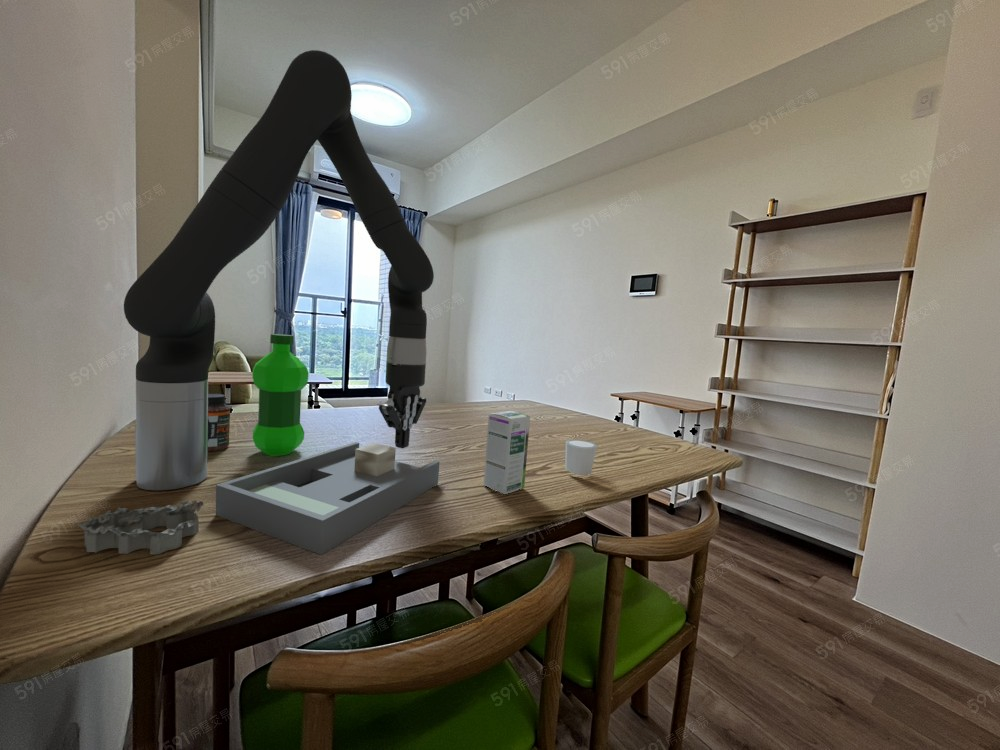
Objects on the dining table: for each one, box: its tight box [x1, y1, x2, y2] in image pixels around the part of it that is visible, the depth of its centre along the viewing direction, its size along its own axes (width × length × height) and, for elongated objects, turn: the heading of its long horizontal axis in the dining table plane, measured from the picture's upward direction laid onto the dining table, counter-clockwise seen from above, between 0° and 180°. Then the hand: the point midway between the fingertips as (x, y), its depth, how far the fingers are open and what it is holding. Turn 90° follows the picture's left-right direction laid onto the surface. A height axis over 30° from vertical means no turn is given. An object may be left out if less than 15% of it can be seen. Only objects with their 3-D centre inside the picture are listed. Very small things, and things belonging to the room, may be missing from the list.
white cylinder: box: [564, 439, 598, 475], centre depth 89 cm, size 7×7×7 cm
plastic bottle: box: [251, 333, 309, 457], centre depth 85 cm, size 10×10×25 cm
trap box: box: [215, 441, 440, 556], centre depth 67 cm, size 20×28×4 cm
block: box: [354, 442, 397, 477], centre depth 74 cm, size 5×5×4 cm
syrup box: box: [483, 410, 531, 495], centre depth 77 cm, size 6×6×14 cm
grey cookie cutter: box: [75, 500, 204, 555], centre depth 51 cm, size 11×8×4 cm
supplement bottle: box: [207, 393, 231, 452], centre depth 85 cm, size 6×6×11 cm
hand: (401, 446), depth 81 cm, fingers closed
